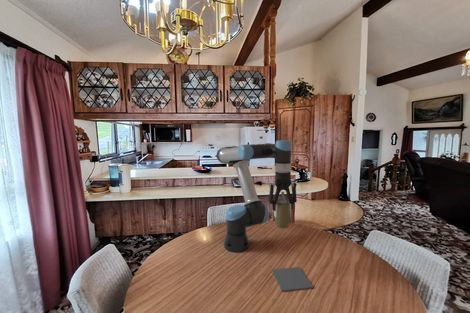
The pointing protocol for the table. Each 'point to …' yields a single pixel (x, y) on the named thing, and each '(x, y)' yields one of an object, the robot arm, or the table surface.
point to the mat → (291, 279)
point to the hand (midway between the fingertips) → (282, 216)
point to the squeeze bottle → (282, 212)
